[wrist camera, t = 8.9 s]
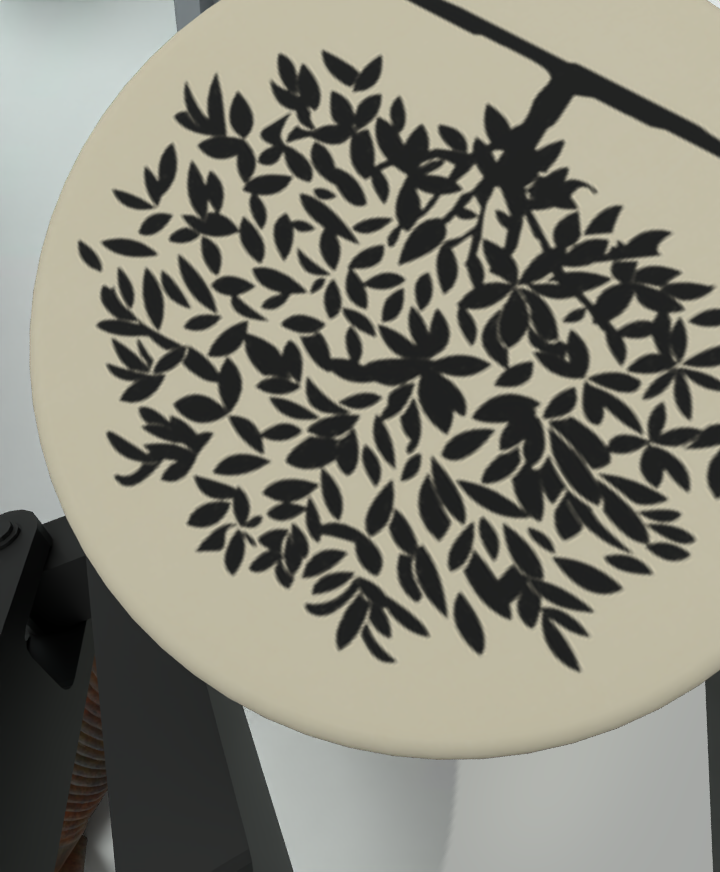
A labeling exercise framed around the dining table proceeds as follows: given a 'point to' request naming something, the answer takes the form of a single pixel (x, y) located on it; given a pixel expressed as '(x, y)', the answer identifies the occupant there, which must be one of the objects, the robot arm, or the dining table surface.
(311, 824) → the dining table surface
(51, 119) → the dining table surface
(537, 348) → the travel mug
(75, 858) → the bolt
